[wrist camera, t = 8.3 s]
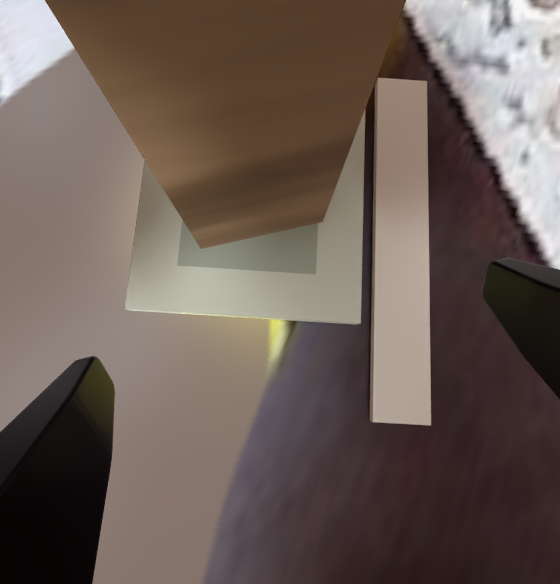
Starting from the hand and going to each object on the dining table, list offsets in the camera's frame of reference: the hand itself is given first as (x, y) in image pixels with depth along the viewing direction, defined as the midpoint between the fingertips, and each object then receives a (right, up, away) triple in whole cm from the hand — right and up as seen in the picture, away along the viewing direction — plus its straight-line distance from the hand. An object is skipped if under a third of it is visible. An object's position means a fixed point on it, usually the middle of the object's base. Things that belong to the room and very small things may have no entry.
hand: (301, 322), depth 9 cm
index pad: (-2, +5, +9) cm, 10 cm away
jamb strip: (+5, +3, +9) cm, 11 cm away
